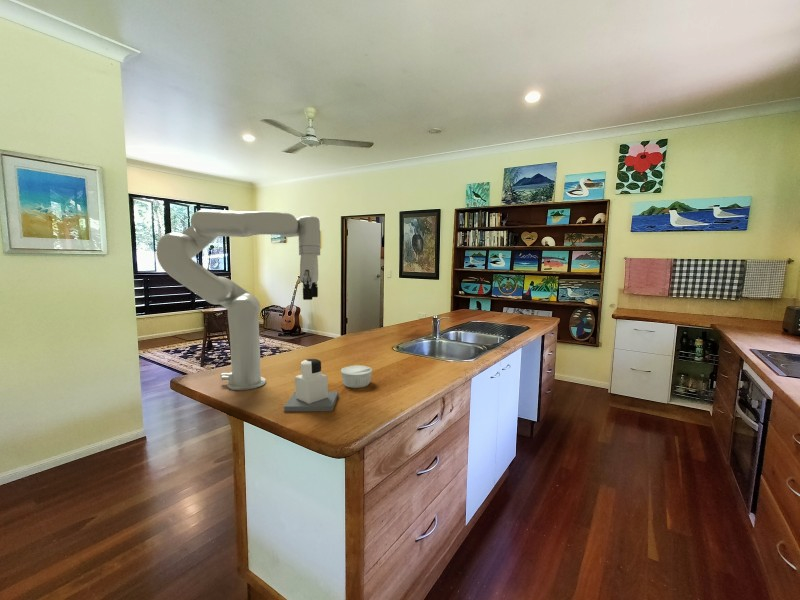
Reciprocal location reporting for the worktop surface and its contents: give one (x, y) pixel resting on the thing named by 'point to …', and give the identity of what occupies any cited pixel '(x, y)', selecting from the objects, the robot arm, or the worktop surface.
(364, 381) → the ramekin
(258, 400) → the worktop surface
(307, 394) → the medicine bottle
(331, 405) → the rubber mat
